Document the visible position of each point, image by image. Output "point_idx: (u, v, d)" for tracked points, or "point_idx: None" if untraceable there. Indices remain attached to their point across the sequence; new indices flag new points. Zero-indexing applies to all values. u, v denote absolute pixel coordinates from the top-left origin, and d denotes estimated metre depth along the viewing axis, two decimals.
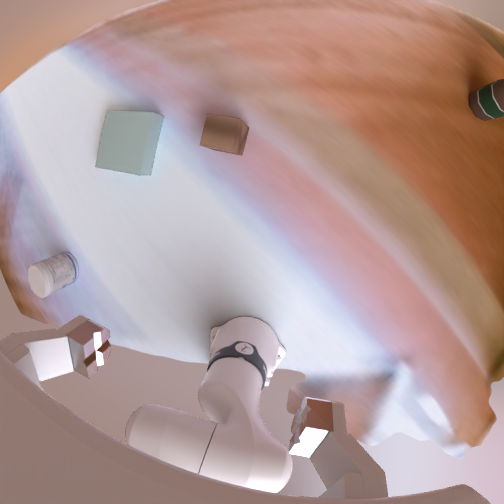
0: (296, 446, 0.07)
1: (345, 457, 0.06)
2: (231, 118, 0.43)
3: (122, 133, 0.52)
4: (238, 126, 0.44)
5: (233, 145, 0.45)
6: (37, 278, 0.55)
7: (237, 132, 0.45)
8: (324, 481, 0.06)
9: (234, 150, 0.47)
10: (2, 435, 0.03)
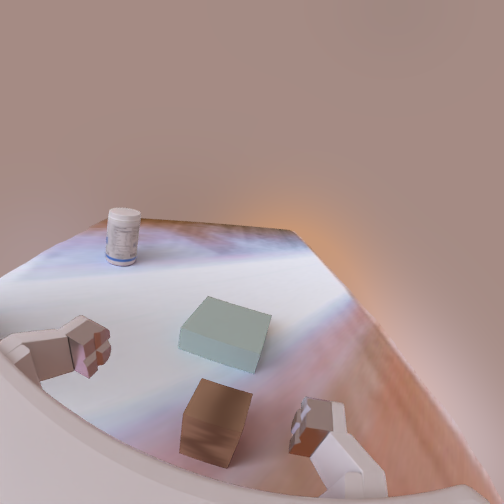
0: (296, 446, 0.07)
1: (345, 457, 0.06)
2: (242, 422, 0.23)
3: (239, 323, 0.50)
4: (227, 432, 0.22)
5: (192, 420, 0.23)
6: (127, 212, 0.68)
7: (216, 430, 0.23)
8: (324, 481, 0.06)
9: (184, 424, 0.23)
10: (2, 435, 0.03)
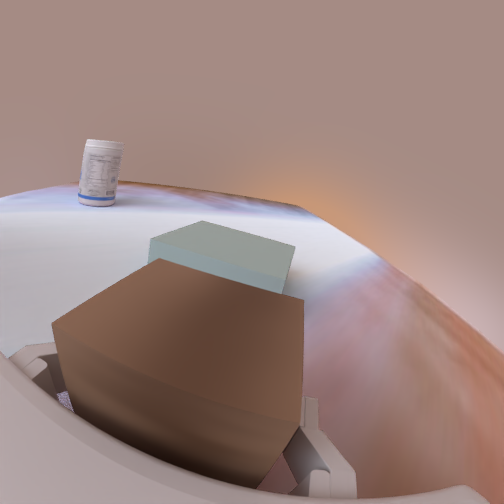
0: None
1: (314, 454, 0.06)
2: (293, 376, 0.06)
3: (247, 246, 0.32)
4: (226, 423, 0.05)
5: (84, 357, 0.05)
6: None
7: (176, 415, 0.05)
8: (296, 478, 0.07)
9: (70, 382, 0.06)
10: (2, 435, 0.03)
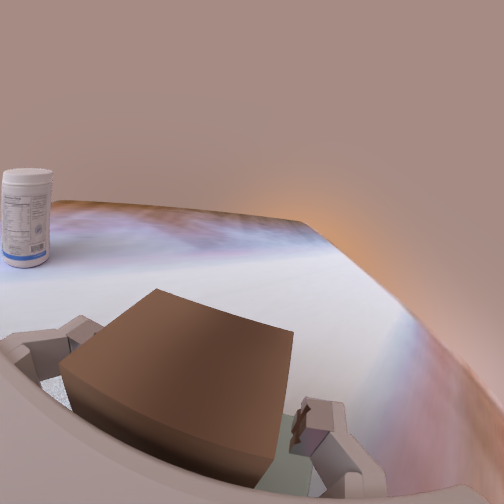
0: (296, 446, 0.07)
1: (345, 457, 0.06)
2: (273, 415, 0.06)
3: None
4: (212, 454, 0.05)
5: (88, 393, 0.06)
6: (28, 171, 0.29)
7: (170, 445, 0.05)
8: (324, 481, 0.06)
9: (77, 410, 0.06)
10: (2, 435, 0.03)
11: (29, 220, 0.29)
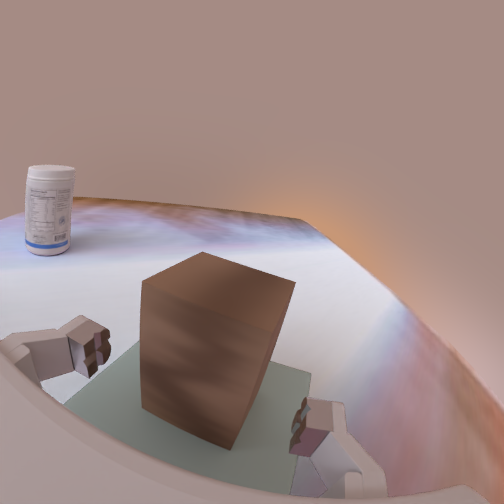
0: (295, 447, 0.07)
1: (345, 457, 0.06)
2: (275, 314, 0.11)
3: None
4: (235, 333, 0.10)
5: (160, 299, 0.11)
6: (52, 168, 0.34)
7: (209, 330, 0.11)
8: (324, 481, 0.06)
9: (145, 319, 0.12)
10: (2, 435, 0.03)
11: (54, 212, 0.35)
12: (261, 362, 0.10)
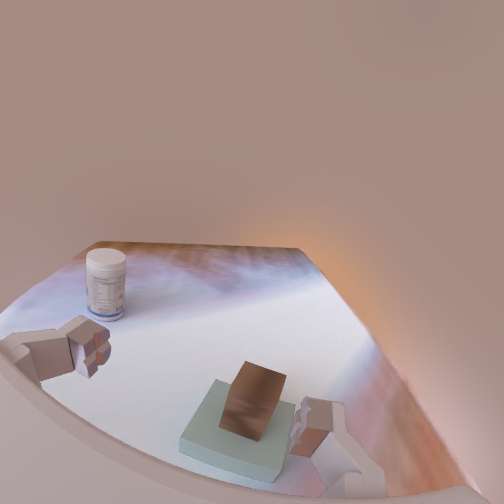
0: (296, 446, 0.07)
1: (345, 457, 0.06)
2: (278, 396, 0.30)
3: None
4: (265, 403, 0.29)
5: (237, 392, 0.30)
6: (108, 258, 0.53)
7: (256, 402, 0.29)
8: (324, 481, 0.06)
9: (229, 397, 0.30)
10: (2, 435, 0.03)
11: (115, 292, 0.53)
12: (273, 411, 0.29)
